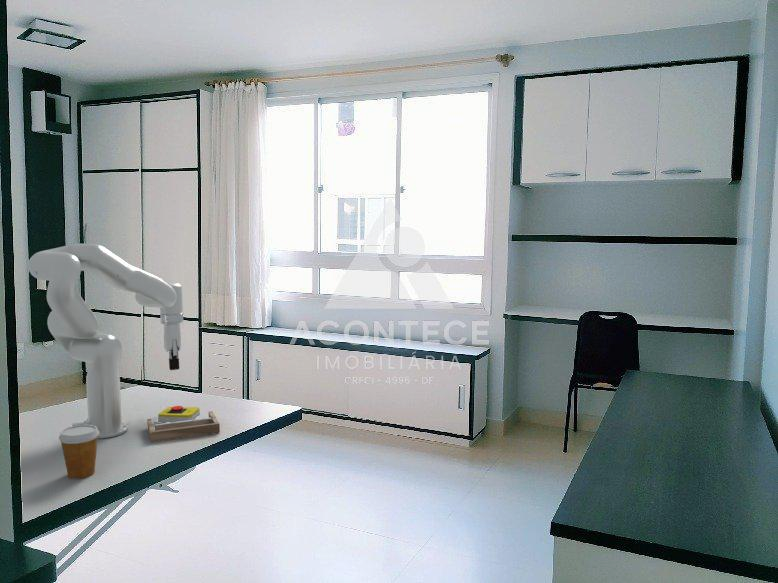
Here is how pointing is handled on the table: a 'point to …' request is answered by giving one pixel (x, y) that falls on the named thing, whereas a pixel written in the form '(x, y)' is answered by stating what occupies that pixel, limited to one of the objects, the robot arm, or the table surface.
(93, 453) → the disposable coffee cup
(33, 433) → the table surface
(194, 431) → the dock
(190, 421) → the catch plate
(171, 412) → the emergency button
